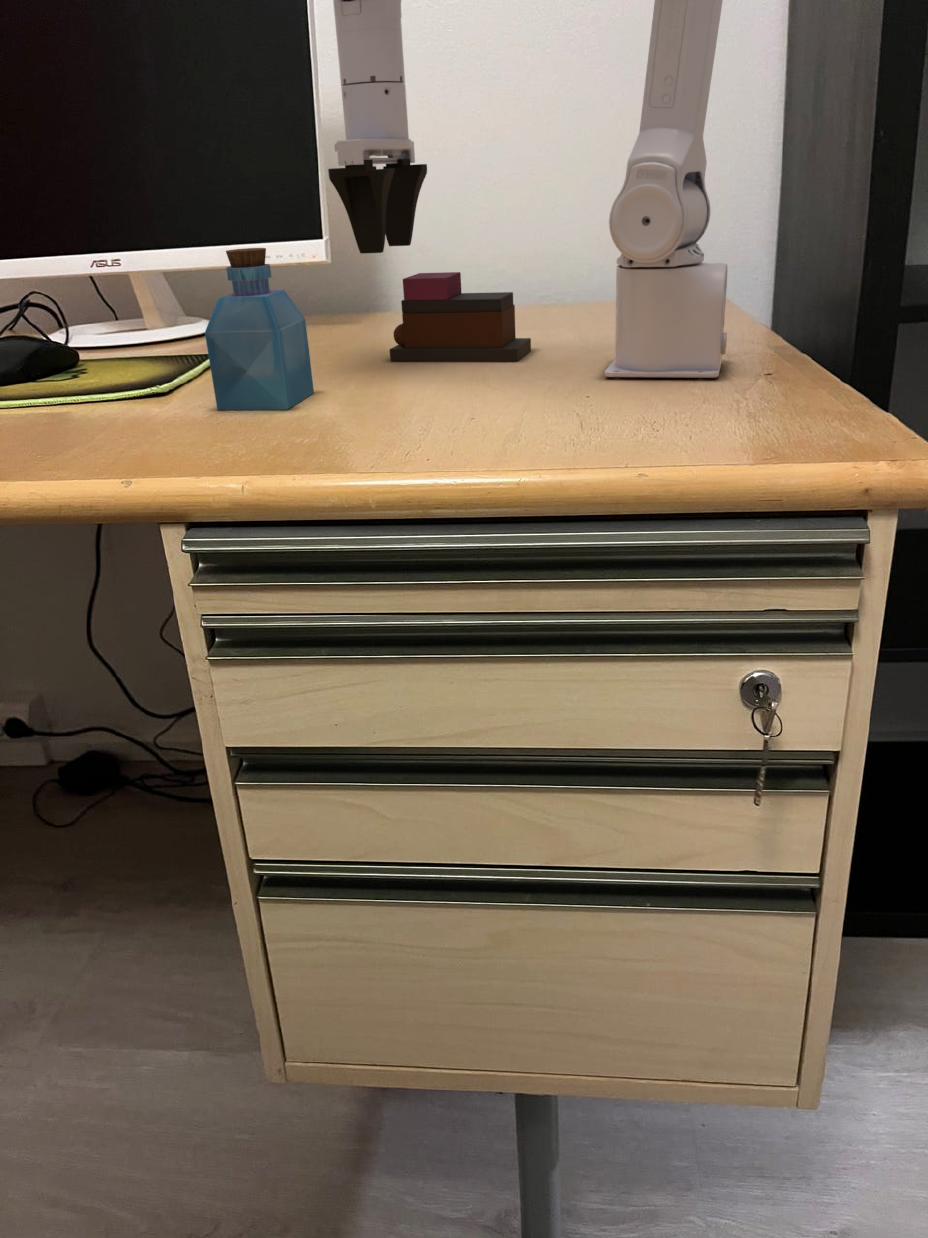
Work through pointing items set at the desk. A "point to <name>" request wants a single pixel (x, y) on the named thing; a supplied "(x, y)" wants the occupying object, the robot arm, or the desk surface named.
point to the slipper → (448, 295)
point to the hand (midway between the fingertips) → (386, 249)
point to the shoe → (459, 337)
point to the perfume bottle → (257, 341)
